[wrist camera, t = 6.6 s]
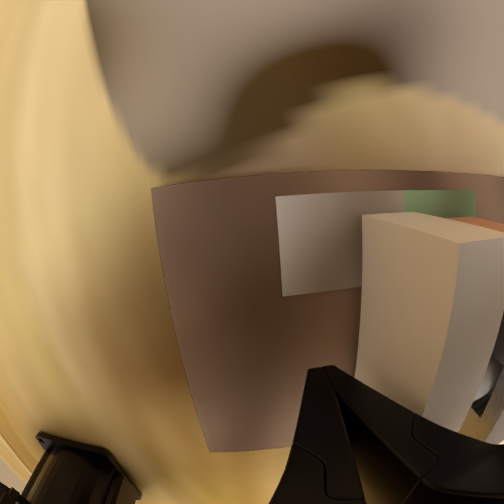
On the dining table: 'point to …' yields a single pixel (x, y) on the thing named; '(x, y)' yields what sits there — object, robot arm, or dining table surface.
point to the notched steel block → (489, 405)
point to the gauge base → (281, 282)
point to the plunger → (430, 312)
